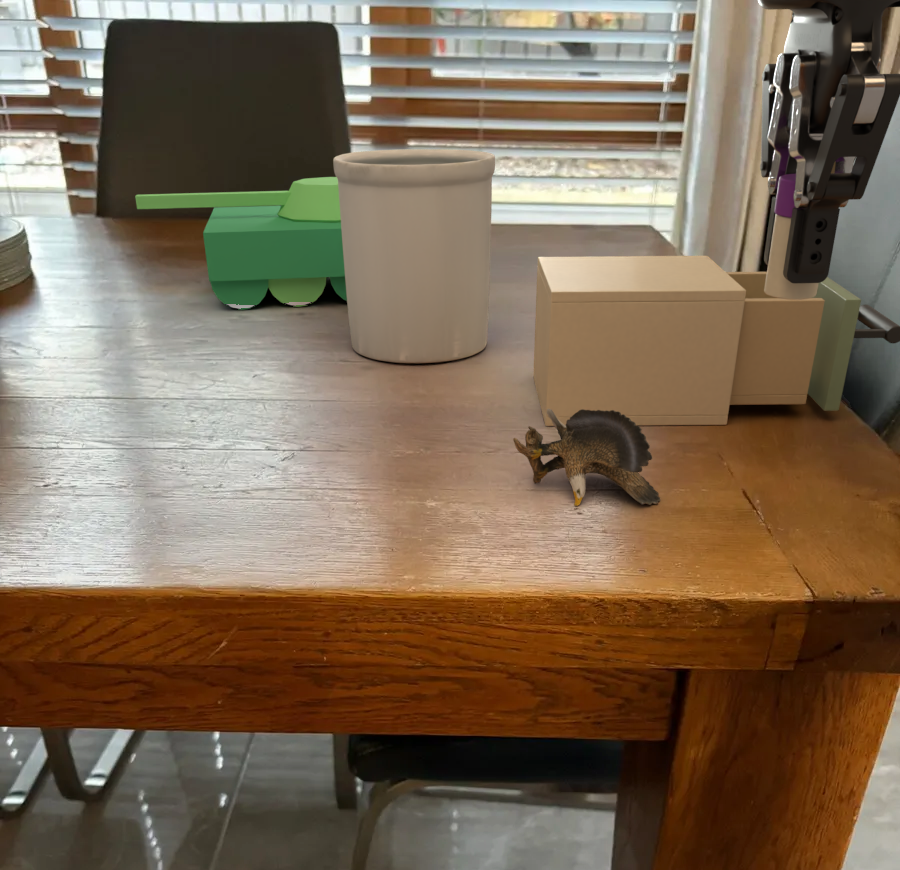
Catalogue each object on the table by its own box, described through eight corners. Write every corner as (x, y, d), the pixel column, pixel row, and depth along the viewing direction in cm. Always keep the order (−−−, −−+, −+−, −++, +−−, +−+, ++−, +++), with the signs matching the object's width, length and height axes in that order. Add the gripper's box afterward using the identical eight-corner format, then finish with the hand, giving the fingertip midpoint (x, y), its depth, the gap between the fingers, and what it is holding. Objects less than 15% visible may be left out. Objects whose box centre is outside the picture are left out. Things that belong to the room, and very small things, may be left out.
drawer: (849, 367, 88) (870, 266, 84) (899, 410, 78) (926, 299, 74) (646, 368, 88) (655, 268, 84) (671, 412, 78) (683, 300, 74)
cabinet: (692, 375, 89) (707, 255, 84) (726, 424, 78) (746, 290, 73) (533, 377, 89) (537, 256, 84) (545, 426, 78) (551, 291, 73)
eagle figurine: (511, 500, 64) (651, 492, 60) (511, 392, 64) (650, 379, 61) (541, 517, 71) (667, 511, 68) (541, 420, 71) (666, 409, 68)
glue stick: (808, 286, 56) (827, 172, 53) (826, 300, 53) (847, 181, 50) (755, 287, 56) (772, 173, 53) (771, 301, 53) (789, 182, 50)
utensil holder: (345, 327, 104) (333, 147, 95) (483, 322, 105) (485, 144, 96) (344, 369, 92) (331, 166, 83) (502, 363, 93) (505, 163, 84)
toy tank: (144, 176, 118) (432, 169, 122) (160, 281, 124) (433, 271, 128) (122, 197, 102) (452, 188, 106) (141, 316, 109) (452, 303, 113)
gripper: (1013, -133, 39) (915, 305, 48) (877, -99, 51) (818, 246, 60) (825, -130, 39) (762, 308, 48) (733, -96, 51) (696, 249, 60)
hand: (793, 272), depth 54 cm, fingers closed on glue stick, 3 cm apart
